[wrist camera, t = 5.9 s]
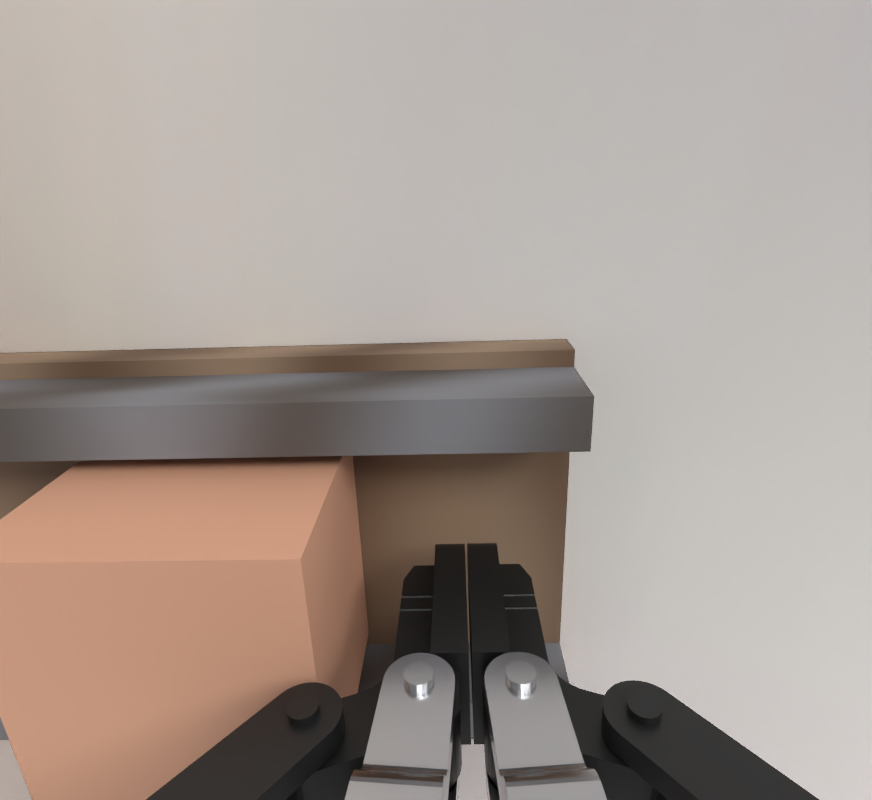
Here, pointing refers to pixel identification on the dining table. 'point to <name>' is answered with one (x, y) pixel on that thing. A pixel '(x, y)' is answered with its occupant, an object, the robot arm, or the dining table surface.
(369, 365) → the chute
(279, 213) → the dining table surface
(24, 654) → the block
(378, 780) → the robot arm
